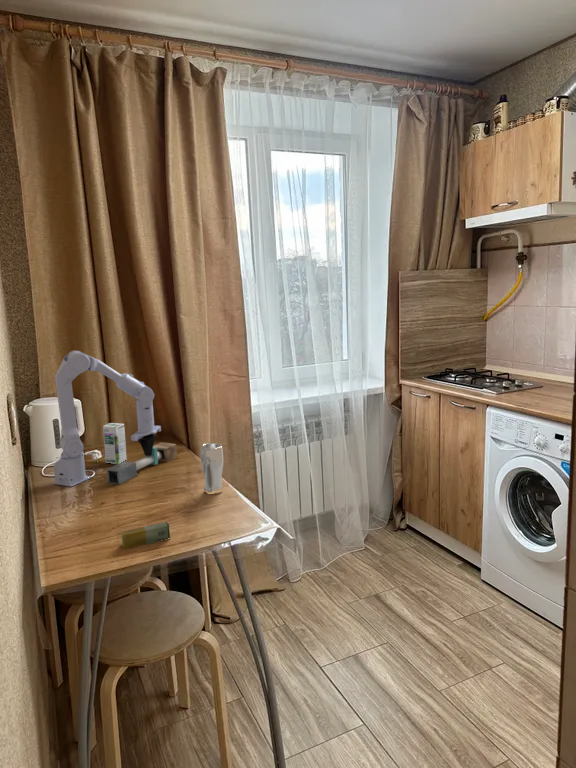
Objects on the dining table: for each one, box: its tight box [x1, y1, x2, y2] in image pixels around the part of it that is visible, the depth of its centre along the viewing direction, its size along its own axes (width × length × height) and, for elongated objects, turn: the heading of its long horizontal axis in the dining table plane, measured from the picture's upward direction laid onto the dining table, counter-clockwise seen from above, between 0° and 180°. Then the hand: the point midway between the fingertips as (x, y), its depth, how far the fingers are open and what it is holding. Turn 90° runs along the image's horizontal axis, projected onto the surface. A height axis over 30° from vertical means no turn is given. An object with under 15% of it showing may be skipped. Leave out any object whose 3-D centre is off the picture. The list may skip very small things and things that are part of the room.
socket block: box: [153, 441, 178, 463], centre depth 209 cm, size 6×7×5 cm
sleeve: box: [106, 460, 138, 486], centre depth 187 cm, size 9×5×5 cm, turn 157°
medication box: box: [120, 522, 171, 550], centre depth 141 cm, size 12×3×4 cm, turn 115°
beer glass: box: [200, 442, 224, 492], centre depth 174 cm, size 7×7×15 cm
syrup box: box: [102, 422, 128, 465], centre depth 205 cm, size 6×6×14 cm
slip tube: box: [133, 447, 162, 472], centre depth 196 cm, size 20×4×6 cm, turn 157°
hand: (148, 455), depth 199 cm, fingers closed
